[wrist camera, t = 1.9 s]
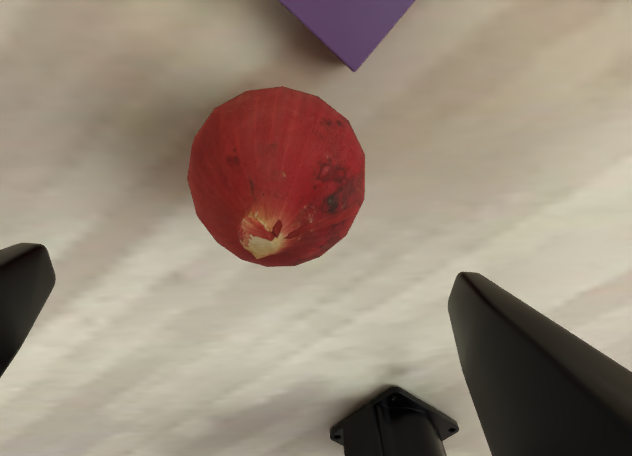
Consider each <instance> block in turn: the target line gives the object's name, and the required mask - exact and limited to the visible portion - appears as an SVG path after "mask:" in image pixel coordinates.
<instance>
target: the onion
mask: <svg viewBox="0 0 632 456" xmlns="http://www.w3.org/2000/svg"><path fill="white" fill-rule="evenodd" d="M187 179H188V183H189V187H190V190H191V194H192V198H193V202H194V206H195V210H196V214H197V216H198V218H199V219H200V220H201V222H202V223H203V224H204V226H205V227H206V228H207V230H208V231H209V232H210V234H211V235H212V236H213V238H214V239H215V240H216V241H217V242H218V243H219V244H220V245H222V246H223V247H225V248H226V249H227V250H229V251H230V252H232V253H233V254H235V255H236V256H237V257H239V258H240V259H242V260H245V261H249V262H252V263H256V264H259V265H263V266H266V267H274V266H296V265H299V264H301V263H304V262H307V261H310V260H312V259H315V258H318V257H320V256H321V255H323V254H324V253H325V252H326V251H328V250H329V249H330V248H331V247H333V246H334V245H335V244H336V243H338V242H339V241H340V240H341V239H342V238H344V237H345V236H346V235H347V233H348V231H349V229H350V227H351V225H352V223H353V221H354V219H355V217H356V215H357V213H358V211H359V209H360V207H361V205H362V203H363V201H364V193H365V154H364V152H363V150H362V148H361V146H360V143H359V141H358V139H357V137H356V135H355V133H354V131H353V129H352V127H351V125H350V123H349V121H348V120H347V119H346V118H345V117H343V116H342V115H341V114H340V113H338V112H337V111H336V110H334V109H333V108H332V107H331V106H329V105H328V104H327V103H326V102H324V101H323V100H322V99H320V98H319V97H317V96H314V95H310V94H307V93H303V92H300V91H296V90H293V89H289V88H286V87H275V88H267V89H259V90H250V91H246V92H244V93H242V94H240V95H238V96H236V97H235V98H233V99H231V100H229V101H227V102H226V103H224V104H222V105H220V106H218V107H216V108H215V109H214V110H213V111H212V113H211V114H210V116H209V117H208V119H207V120H206V121H205V123H204V124H203V126H202V127H201V129H200V130H199V131H198V133H197V134H196V136H195V138H194V141H193V144H192V148H191V155H190V163H189V170H188V178H187Z"/></svg>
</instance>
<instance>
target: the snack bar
mask: <svg viewBox="0 0 632 456" xmlns="http://www.w3.org/2000/svg"><path fill="white" fill-rule="evenodd" d="M278 1H279V2H280V3H281V4H282V5H283V6H284V7H285V8H286V9H287V10H288V11H289V12H290V13H292V14H293V15H294V16H295V17H296V18H297V19H298V20H299V21H300V22H301V23H302V24H303V25H304V26H305V27H306V28H307V29H308V30H309V31H310V32H312V33H313V34H314V35H315V36H316V37H317V38H318V39H319V40H320V41H321V42H322V43H323V44H324V45H325V46H326V47H327V48H328V49H329V50H330V51H332V52H333V53H334V54H335V55H336V56H337V57H338V58H339V59H340V60H341V61H342V62H343V63H344V64H345V65H346V66H347V67H348V68H349V69H351V70H352V71H353V72H355V71H357V69H358V68H359V67H360V66H361V65H362V63H363V62H364V61H365V60H366V59H367V57H368V56H369V55H370V54H371V53H372V51H373V50H374V49H375V48H376V47H377V45H378V44H379V43H380V42H381V41H382V39H383V38H384V37H385V36H386V35H387V34H388V32H389V31H390V30H391V29H392V28H393V26H394V25H395V24H396V23H397V22H398V20H399V19H400V18H401V17H402V16H403V14H404V13H405V12H406V11H407V10H408V8H409V7H410V6H411V5H412V4H413V2H414V1H415V0H278Z"/></svg>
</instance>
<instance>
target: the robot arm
mask: <svg viewBox="0 0 632 456" xmlns="http://www.w3.org/2000/svg"><path fill="white" fill-rule="evenodd" d="M55 280H56V278H55V272H54V269H53V266H52V263H51V260H50V257H49V254H48V251H47V249H46V247H45V246H44V245H42V244H33V243H19V244H16V245H13V246H10V247H7V248H5V249H2V250H0V377H1V376H2V375H3V373H4V372H5V370H6V369H7V367H8V366H9V364H10V363H11V361H12V360H13V358H14V357H15V355H16V354H17V352H18V351H19V349H20V347H21V346H22V344H23V342H24V341H25V339H26V337H27V335H28V333H29V332H30V330H31V328H32V326H33V324H34V322H35V321H36V319H37V317H38V315H39V313H40V311H41V310H42V308H43V306H44V304H45V302H46V300H47V298H48V297H49V295H50V293H51V291H52V289H53V287H54V285H55ZM448 311H449V316H450V320H451V324H452V329H453V333H454V337H455V342H456V346H457V350H458V355H459V359H460V363H461V367H462V371H463V374H464V377H465V380H466V383H467V386H468V388H469V391H470V394H471V397H472V400H473V403H474V406H475V408H476V411H477V414H478V417H479V420H480V423H481V425H482V428H483V431H484V434H485V437H486V440H487V442H488V445H489V448H490V451H491V454H492V456H632V372H631V371H629V370H628V369H626V368H624V367H623V366H621V365H620V364H618V363H617V362H615V361H614V360H612V359H611V358H609V357H607V356H606V355H604V354H603V353H601V352H600V351H598V350H597V349H595V348H594V347H592V346H590V345H589V344H587V343H586V342H584V341H583V340H581V339H580V338H578V337H577V336H575V335H573V334H572V333H570V332H569V331H567V330H566V329H564V328H563V327H561V326H560V325H558V324H556V323H555V322H553V321H552V320H550V319H549V318H547V317H546V316H544V315H543V314H541V313H539V312H538V311H536V310H535V309H533V308H532V307H530V306H529V305H527V304H526V303H524V302H522V301H521V300H519V299H518V298H516V297H515V296H513V295H512V294H510V293H509V292H507V291H505V290H504V289H502V288H501V287H499V286H498V285H496V284H495V283H493V282H492V281H490V280H488V279H487V278H485V277H484V276H482V275H481V274H479V273H474V272H460V273H459V274H458V275H457V277H456V279H455V282H454V285H453V288H452V291H451V294H450V297H449V300H448ZM458 431H459V427H458V424H457V422H456V421H455V420H453V419H451V418H450V417H448V416H446V415H445V414H443V413H441V412H440V411H438V410H436V409H435V408H433V407H431V406H430V405H428V404H426V403H425V402H423V401H421V400H420V399H418V398H416V397H415V396H413V395H411V394H410V393H408V392H406V391H405V390H403V389H401V388H399V387H391V388H389V389H388V390H386V391H385V392H383V393H382V394H380V395H379V396H378V397H376V398H375V399H373V400H372V401H370V402H369V403H368V404H366V405H365V406H363V407H362V408H360V409H359V410H358V411H356V412H355V413H353V414H352V415H350V416H349V417H347V418H346V419H345V420H343V421H342V422H340V423H339V424H337V425H336V426H335V427H333V428H332V429H331V430H330V439H331V440H333V441H335V442H337V443H339V444H341V445H343V446H344V453H345V456H447V455H446V452H445V449H444V445H443V442H442V441H443V440H445V439H446V438H448V437H450V436H452V435H453V434H455V433H457V432H458Z"/></svg>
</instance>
